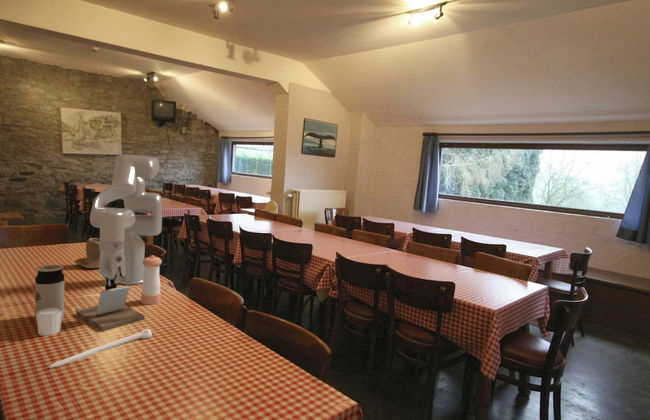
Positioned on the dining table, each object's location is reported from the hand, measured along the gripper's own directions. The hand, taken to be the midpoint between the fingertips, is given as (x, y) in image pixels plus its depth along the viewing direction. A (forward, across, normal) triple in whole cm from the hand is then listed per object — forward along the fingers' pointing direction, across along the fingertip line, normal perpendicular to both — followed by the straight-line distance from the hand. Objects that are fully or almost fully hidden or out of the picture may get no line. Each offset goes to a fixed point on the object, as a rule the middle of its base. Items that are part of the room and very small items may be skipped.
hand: (110, 296), depth 129 cm
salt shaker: (+8, +5, -18) cm, 21 cm away
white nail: (+9, -23, +12) cm, 27 cm away
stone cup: (+8, +71, -24) cm, 76 cm away
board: (+8, 0, 0) cm, 8 cm away
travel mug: (+8, +13, +14) cm, 21 cm away
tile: (+1, -1, 0) cm, 1 cm away
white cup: (+8, +1, +18) cm, 20 cm away
